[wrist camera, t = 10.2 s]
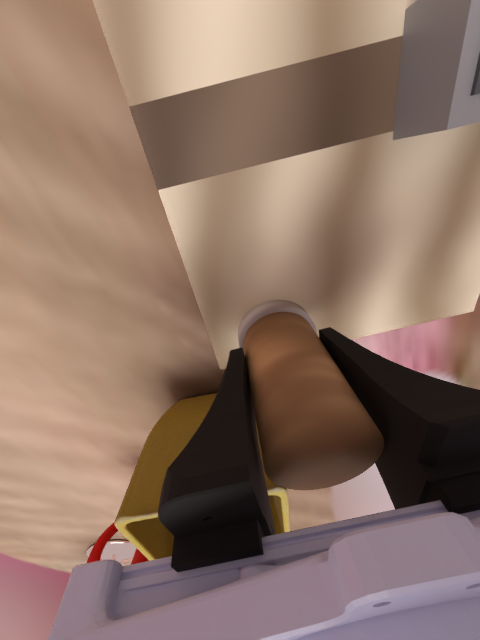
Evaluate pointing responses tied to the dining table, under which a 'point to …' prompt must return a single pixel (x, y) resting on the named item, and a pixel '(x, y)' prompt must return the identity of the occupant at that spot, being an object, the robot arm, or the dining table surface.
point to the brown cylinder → (303, 402)
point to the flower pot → (148, 477)
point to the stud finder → (438, 67)
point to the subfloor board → (298, 162)
